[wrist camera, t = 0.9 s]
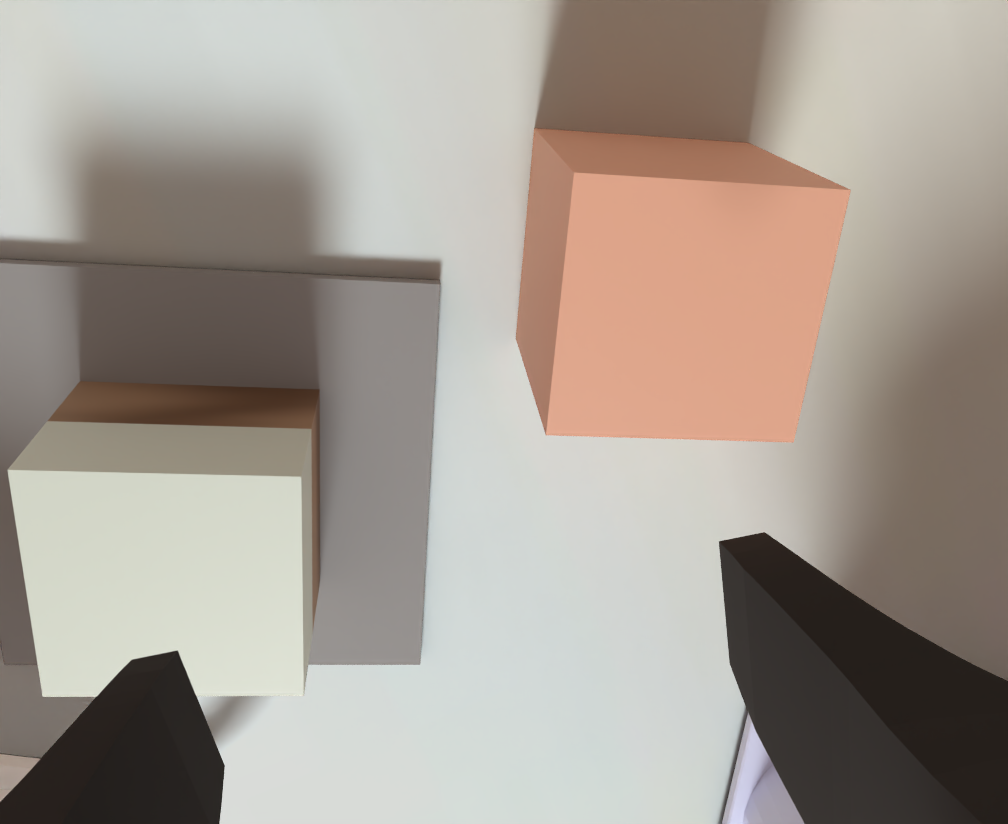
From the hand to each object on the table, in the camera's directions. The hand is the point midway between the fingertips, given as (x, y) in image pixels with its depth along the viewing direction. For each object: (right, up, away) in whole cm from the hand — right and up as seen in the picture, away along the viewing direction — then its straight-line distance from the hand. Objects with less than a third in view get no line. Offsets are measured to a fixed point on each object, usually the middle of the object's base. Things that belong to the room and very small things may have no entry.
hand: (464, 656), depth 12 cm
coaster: (-6, +2, +9) cm, 11 cm away
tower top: (-6, +1, +7) cm, 9 cm away
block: (+3, +7, +8) cm, 11 cm away
